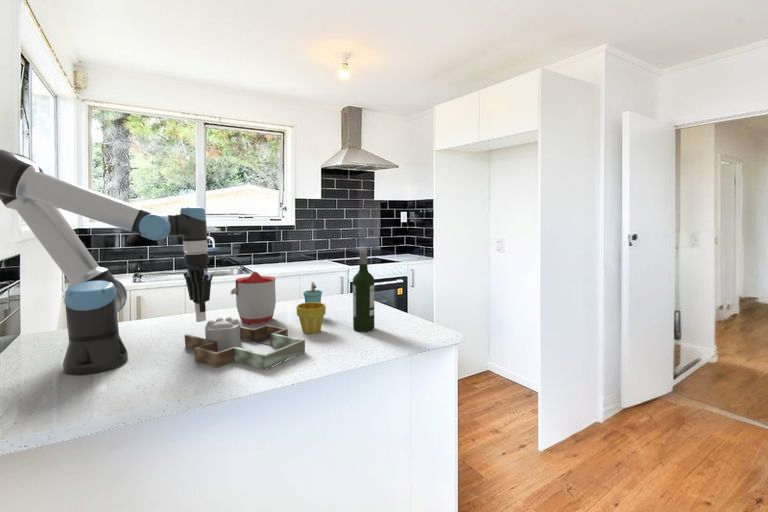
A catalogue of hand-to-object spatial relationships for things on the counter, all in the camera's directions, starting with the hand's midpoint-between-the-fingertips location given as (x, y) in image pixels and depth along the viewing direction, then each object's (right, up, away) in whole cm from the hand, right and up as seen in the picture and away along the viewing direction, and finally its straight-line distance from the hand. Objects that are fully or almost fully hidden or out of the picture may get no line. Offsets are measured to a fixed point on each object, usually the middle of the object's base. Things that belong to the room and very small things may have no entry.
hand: (201, 320), depth 138 cm
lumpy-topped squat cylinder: (+10, -7, -6) cm, 14 cm away
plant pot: (+37, -5, +9) cm, 38 cm away
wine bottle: (+56, -5, +11) cm, 57 cm away
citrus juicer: (+11, -4, +23) cm, 25 cm away
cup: (+34, -3, +28) cm, 44 cm away
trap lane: (+19, -7, -11) cm, 23 cm away
